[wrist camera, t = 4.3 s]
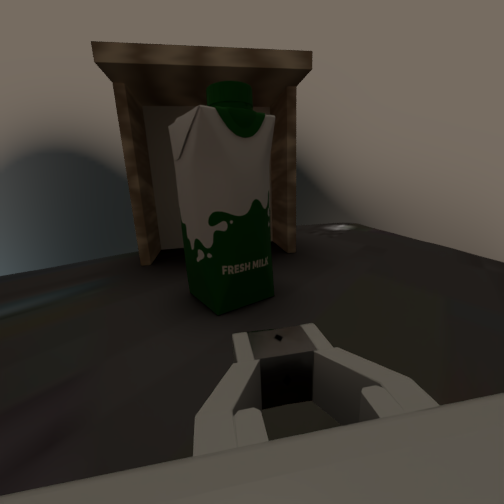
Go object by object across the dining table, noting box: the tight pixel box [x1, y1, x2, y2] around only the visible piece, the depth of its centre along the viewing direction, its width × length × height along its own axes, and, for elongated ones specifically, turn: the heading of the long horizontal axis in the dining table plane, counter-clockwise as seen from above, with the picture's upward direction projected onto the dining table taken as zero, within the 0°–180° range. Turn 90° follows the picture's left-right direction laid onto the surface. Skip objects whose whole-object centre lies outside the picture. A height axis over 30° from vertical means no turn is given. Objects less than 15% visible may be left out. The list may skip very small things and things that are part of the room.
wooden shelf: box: [91, 41, 312, 266], centre depth 43 cm, size 26×18×28 cm
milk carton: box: [168, 81, 275, 315], centre depth 27 cm, size 9×9×20 cm
